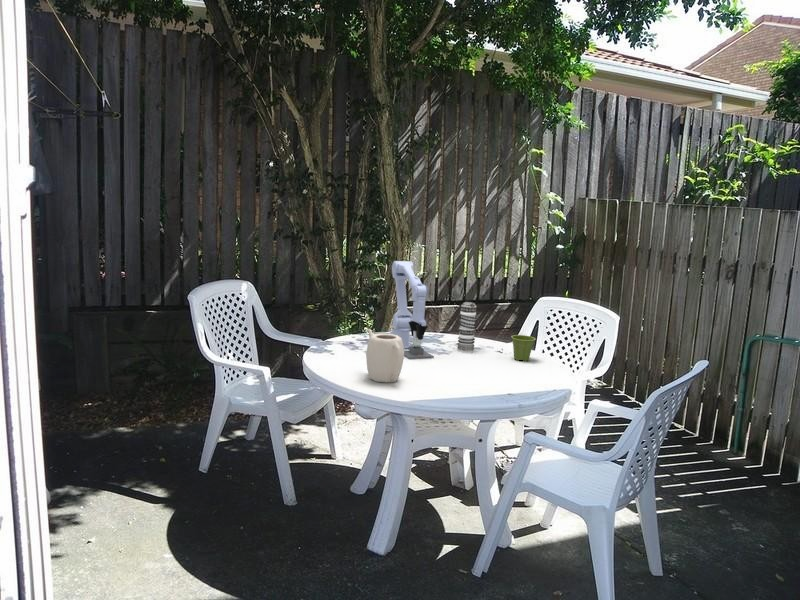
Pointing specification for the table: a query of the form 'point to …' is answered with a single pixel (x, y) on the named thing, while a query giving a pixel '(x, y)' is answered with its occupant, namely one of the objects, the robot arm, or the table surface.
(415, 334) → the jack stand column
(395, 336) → the cream ceramic pot
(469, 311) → the decorative candle
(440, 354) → the table surface
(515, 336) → the plant pot
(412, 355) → the grey socket base
